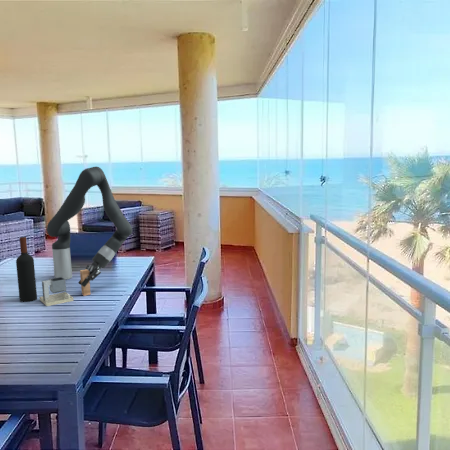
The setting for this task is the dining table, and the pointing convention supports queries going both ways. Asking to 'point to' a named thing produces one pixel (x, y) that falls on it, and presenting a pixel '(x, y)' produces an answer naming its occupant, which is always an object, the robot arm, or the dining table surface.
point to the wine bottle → (26, 274)
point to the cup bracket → (55, 287)
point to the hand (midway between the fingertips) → (81, 284)
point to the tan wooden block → (87, 288)
